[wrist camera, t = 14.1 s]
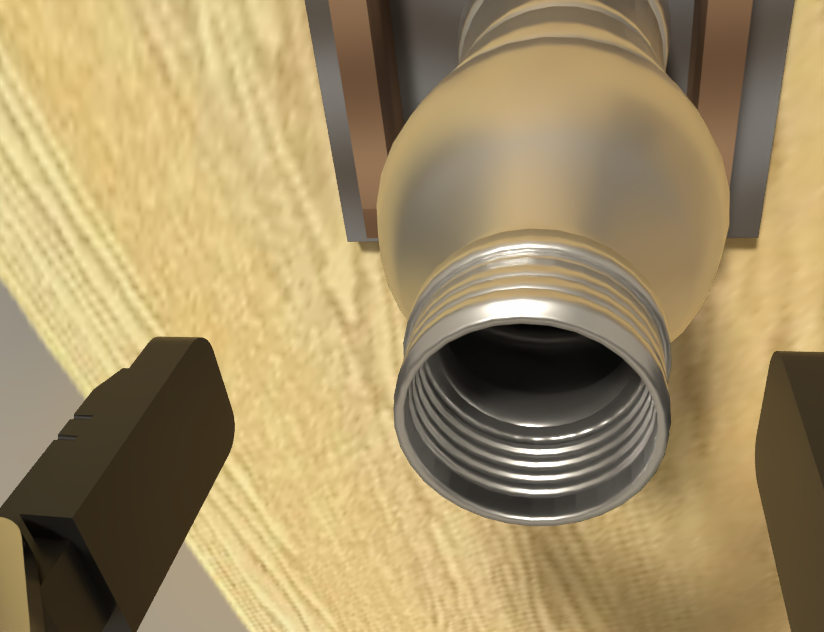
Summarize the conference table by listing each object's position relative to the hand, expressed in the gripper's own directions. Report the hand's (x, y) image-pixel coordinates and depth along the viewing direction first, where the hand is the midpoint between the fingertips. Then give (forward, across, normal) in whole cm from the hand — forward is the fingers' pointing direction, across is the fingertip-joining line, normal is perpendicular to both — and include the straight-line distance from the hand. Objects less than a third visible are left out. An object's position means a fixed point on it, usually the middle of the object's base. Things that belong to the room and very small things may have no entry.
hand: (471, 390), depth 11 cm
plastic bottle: (+19, -1, 0) cm, 19 cm away
